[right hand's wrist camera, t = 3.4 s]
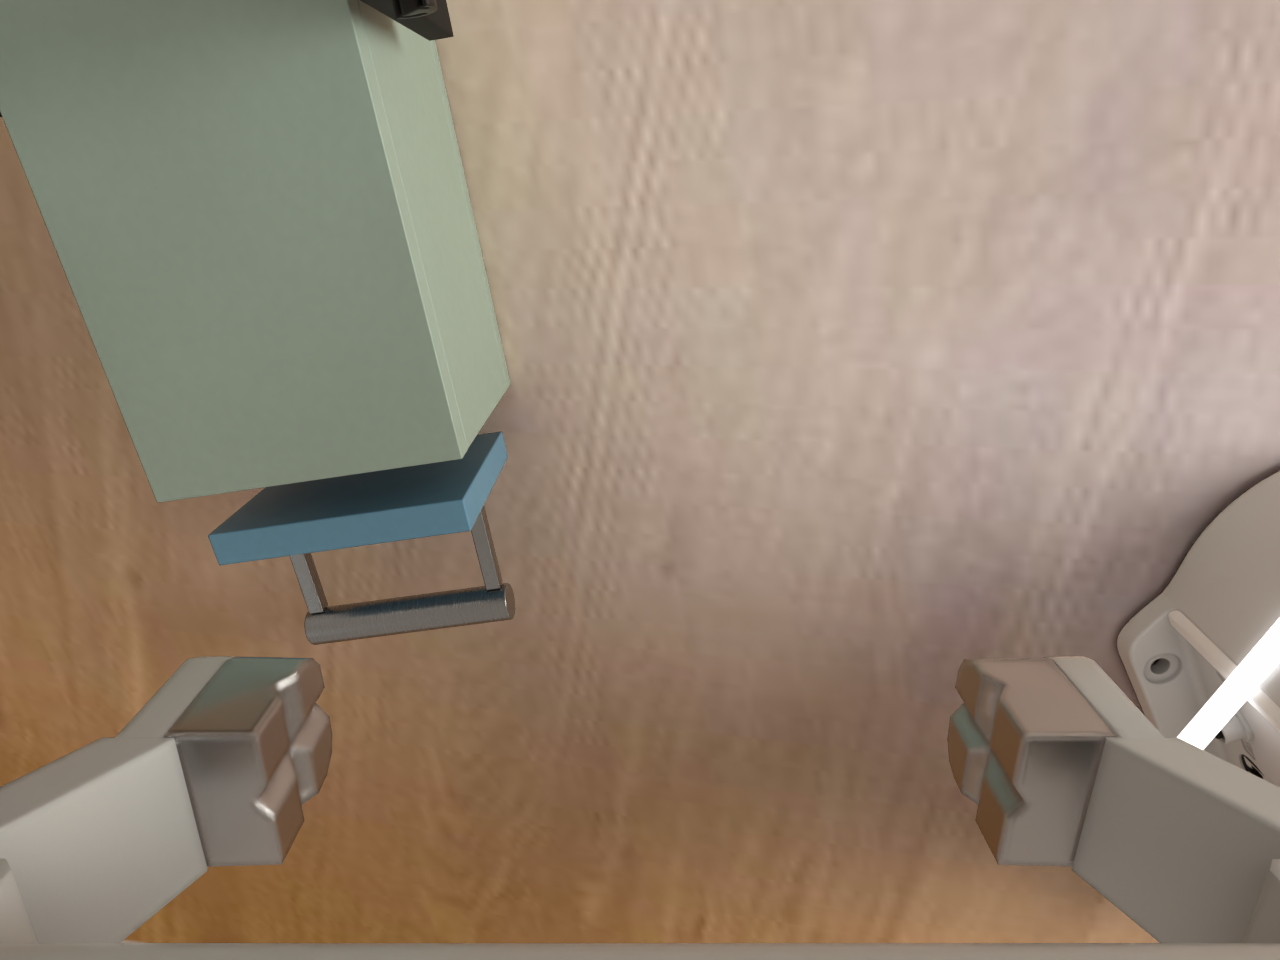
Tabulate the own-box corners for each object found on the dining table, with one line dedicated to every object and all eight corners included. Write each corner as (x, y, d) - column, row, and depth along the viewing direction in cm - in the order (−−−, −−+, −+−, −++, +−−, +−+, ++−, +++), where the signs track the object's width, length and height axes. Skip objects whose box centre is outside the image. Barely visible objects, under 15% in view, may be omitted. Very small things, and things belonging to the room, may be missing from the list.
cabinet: (511, 384, 35) (462, 459, 26) (280, 419, 35) (156, 503, 27) (410, -75, 29) (302, -180, 20) (134, -22, 29) (-86, -100, 21)
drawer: (534, 573, 37) (506, 670, 30) (341, 599, 37) (269, 699, 31) (415, 53, 29) (340, 18, 22) (176, 96, 30) (31, 77, 23)
